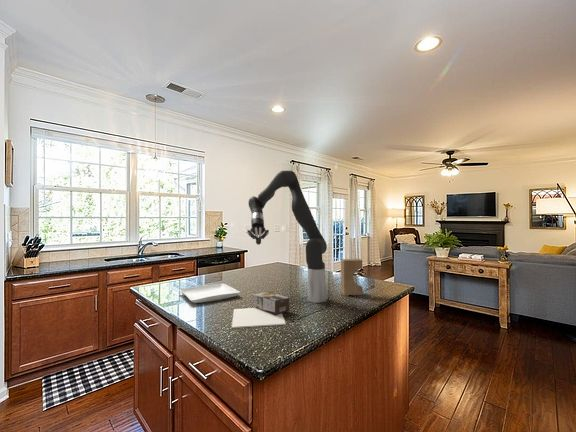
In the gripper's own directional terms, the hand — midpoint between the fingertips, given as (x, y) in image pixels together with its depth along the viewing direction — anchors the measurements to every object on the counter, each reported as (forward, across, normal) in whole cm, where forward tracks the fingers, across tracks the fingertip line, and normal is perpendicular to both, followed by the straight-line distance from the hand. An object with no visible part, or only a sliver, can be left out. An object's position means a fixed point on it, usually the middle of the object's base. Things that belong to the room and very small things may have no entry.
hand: (258, 243), depth 155 cm
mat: (+43, -2, -1) cm, 43 cm away
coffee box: (+30, 0, +7) cm, 31 cm away
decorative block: (+24, +53, +18) cm, 61 cm away
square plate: (+16, -28, +27) cm, 42 cm away
